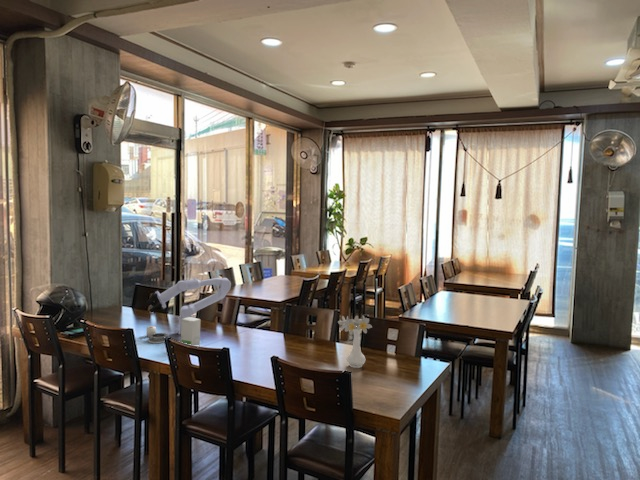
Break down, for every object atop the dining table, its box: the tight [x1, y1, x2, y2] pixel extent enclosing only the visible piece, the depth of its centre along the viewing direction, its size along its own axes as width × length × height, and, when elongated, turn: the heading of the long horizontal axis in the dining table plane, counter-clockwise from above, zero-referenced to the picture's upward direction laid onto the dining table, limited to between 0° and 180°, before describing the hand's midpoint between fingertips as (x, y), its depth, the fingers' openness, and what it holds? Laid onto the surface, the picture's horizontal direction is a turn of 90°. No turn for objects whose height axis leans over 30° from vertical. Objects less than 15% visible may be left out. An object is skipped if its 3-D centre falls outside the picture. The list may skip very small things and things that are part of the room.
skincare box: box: [180, 317, 201, 347], centre depth 262 cm, size 8×7×16 cm
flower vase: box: [337, 315, 373, 369], centre depth 237 cm, size 13×18×25 cm
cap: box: [146, 325, 157, 338], centre depth 283 cm, size 5×5×5 cm
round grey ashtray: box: [147, 332, 169, 344], centre depth 273 cm, size 11×11×3 cm
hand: (148, 307), depth 283 cm, fingers open, 7 cm apart
